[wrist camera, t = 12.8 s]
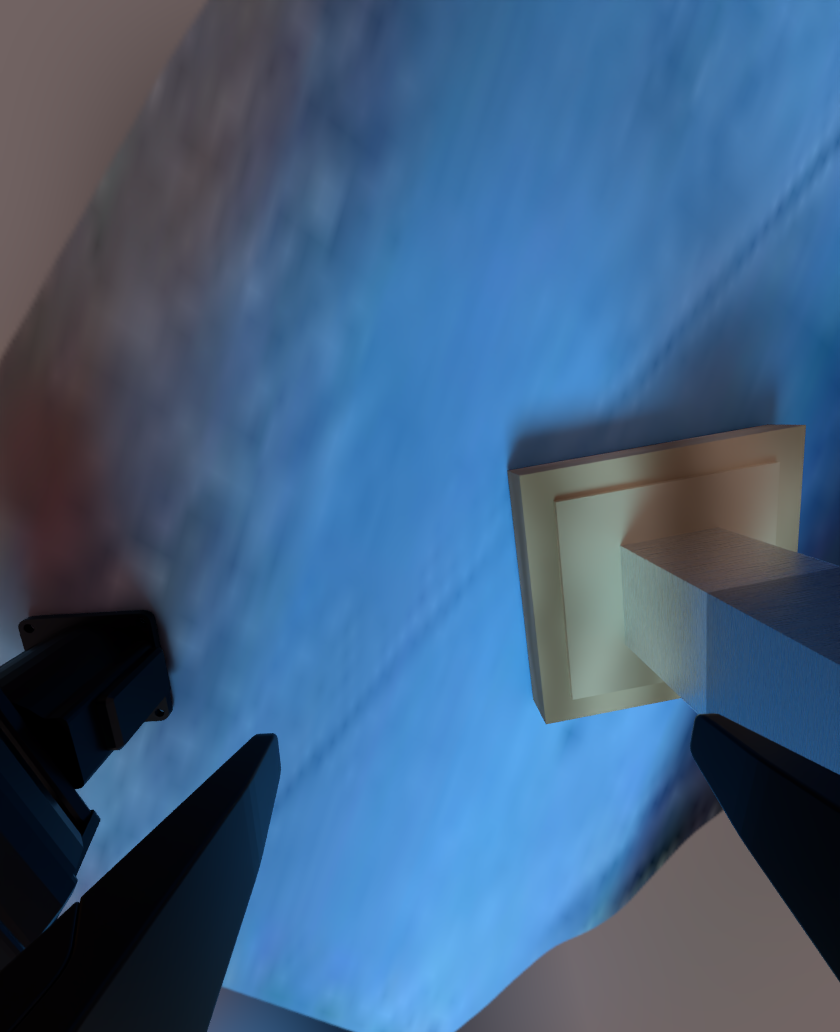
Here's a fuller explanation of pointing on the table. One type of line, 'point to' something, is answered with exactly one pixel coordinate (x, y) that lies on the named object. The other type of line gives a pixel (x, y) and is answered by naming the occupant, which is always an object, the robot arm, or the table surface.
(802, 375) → the table surface
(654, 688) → the stand
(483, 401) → the table surface
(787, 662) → the plate
